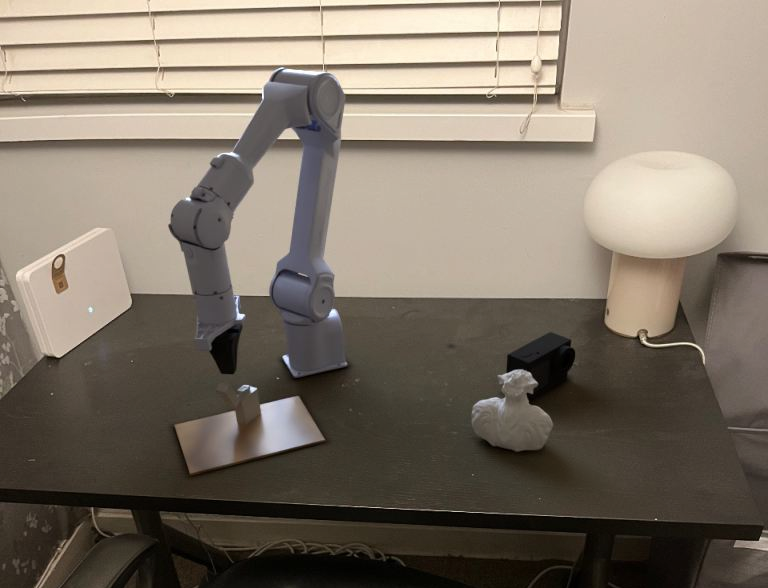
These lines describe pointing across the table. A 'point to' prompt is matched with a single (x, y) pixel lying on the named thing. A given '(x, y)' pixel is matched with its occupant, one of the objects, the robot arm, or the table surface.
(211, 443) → the wooden board
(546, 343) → the digital camera
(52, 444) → the table surface
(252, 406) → the lighter
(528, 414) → the bust
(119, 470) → the table surface
